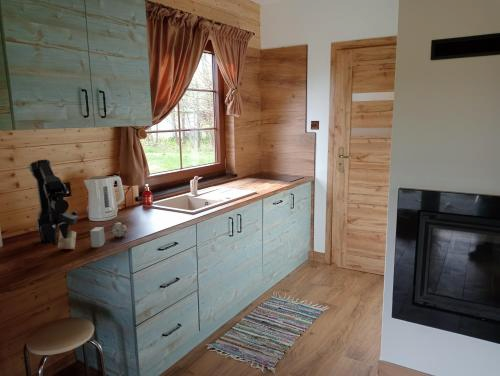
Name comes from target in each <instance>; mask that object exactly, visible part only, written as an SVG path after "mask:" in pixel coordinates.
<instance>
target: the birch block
mask: <svg viewBox="0 0 500 376" xmlns="http://www.w3.org/2000/svg"><path fill="white" fill-rule="evenodd" d="M76 238H77V231H74V230H68V232H67V237H66V238H63V236H62V233H61V231H60V230H59V233H58V243H57V249H60V250H75V249H76V241H77V239H76Z"/></svg>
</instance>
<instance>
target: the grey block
mask: <svg viewBox="0 0 500 376" xmlns="http://www.w3.org/2000/svg"><path fill="white" fill-rule="evenodd" d="M89 233H90V240H91V242H90V243H91V248H101V247H102V246H103V245H104V243H105V244H106V238H105V237H106V236H105V227H104V226H103V227H102V226H100V227H98V226H97V227H96V226H95V227H94V228H93V229H91V230H90V232H89ZM100 246H101V247H100Z"/></svg>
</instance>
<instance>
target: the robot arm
mask: <svg viewBox="0 0 500 376" xmlns="http://www.w3.org/2000/svg"><path fill="white" fill-rule="evenodd" d="M29 172H30V173H31V176H32V177H33V178H34V179H35V180H36V188H37V193H38V195H37V196H38V202H39V208H40V209H39V212H38V214H37V219H36V224H35V226H36V227H35V228H36V230H37V231H38V232H39V237H40V240H39V241H38V243H51V244H52V246H56V245H57V240H59V237H57V233H58V234H59V232H60V231H61V233H62V236H63V238H66V237H67V232H68V231H69V228H70V226H73V225H75V224H76V223H77V220H78V219H79V218H80V217H79V214H78V211H75V210H74V211H72V212H67V211H68V209H69V208H70V207H69V206H70V205H69V202H68V201H67V200H65V199H64V197H66V196H68V194H67V193H68V190H67V187H66V184H64V181H63V180H62V179H61V178H60V177H58V176H56V174H55V173H54V171H53V169H52V166H51V162H50V161H49V159H37V160H36V161H33V162H31V163H30V164H29Z"/></svg>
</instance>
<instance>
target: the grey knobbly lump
mask: <svg viewBox="0 0 500 376" xmlns="http://www.w3.org/2000/svg"><path fill="white" fill-rule="evenodd" d="M128 227H129V226H128V225H126V224H124V222H121V220H118V222H115V223H114V222H113V223H112V226H111V231H110V234H113V235H114V237H117V238H118V240H119V239H120V238H121V237H123V236H124V237H125V236H126V234H127V233H128V231H127V229H128Z"/></svg>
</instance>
